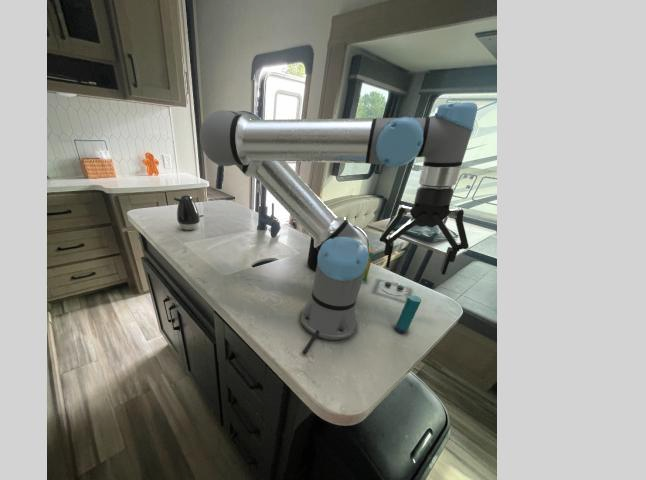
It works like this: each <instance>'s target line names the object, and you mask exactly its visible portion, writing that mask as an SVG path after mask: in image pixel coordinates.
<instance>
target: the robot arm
mask: <svg viewBox="0 0 646 480" xmlns="http://www.w3.org/2000/svg"><path fill="white" fill-rule="evenodd" d="M477 113H478V105H477V104H476V103H475V102H454V103H443V104H439V105H438V106H437V107H436V108H435V111H434V113H433V115H430V116H425V117H412V116H399V117H376V118H373V117H372V118H371V117H362V118H361V117H359V118H357V117H356V118H299V119H296V118H294V119H289V118H287V119H262V118H261V117H260V116H258V115H257V114H255V113H253V112H251V111H248V110H238V111H235V110H223V109H221V110H215V111H213V112H211V113H210V114H208V115H207V116H206V117H205V118H204V120H203V122H202V123H201V127H200V130H199V139H200V140H199V143H200V145H201V149H202V151H203V152H204V155H205V156H206V157H207V158H208V159H209V161H211V162H213V163H214V164H216V165H218V166H221V167H231V166H236V167H237V168H238V169H239V170H240V171H241V172H242V173H243V174H244V175H245V177H246V178H255V179H256V180H257V181H258V182H259V183H260V184H261V185H262V186H263V187H264V188H265V189H266V190H267V192H269V193H270V194H271V195H272V197H273V198H275V200H276V201H277V202H278V203H279V204H280V205H281V206H282V207H283V208H284V209H285V210H286V211H287V212H288V213H289V215H291V216H292V218H293V219H294V220H295V221H296V222H297V223H298V224H299V225H300V226H301V227H302V228H303V229H304V230H305V231H306V233H308V234H309V235H310V237H311V236H312V237H313V239H314V247H315V248H316V249H317V250H318V252H319V253H318V258H317V259H318V261H317V268H316V270H315V273H314V279H313V283H312V290H311V295H310V297H309V299H308V301H307V302H306V304H305V305H304V307H303V309H302V310H301V315H300V317H301V318H300V322H301V325H302V326H303V328H304V329H305V330H306V331H307V332H308V333H310V334H311V335H312V336H311V338H310V339H309V340H308V343H307V344H306V346H305V347H304V348H303V350H302V354H307V353H308V350H309V349H310V347H311V346H312V345H313V343H314V342H315V340H316V338H319V339H322V340H327V341H342V340H345V339H346V340H347V339H348V338H350V337H351V336H352V335H353V334H354V332H355V330H356V326H357V315H356V303H357V299H358V296H359V292H360V290H361V286H362V283H363V280H362V279H363V276H364V273H365V270H366V268H367V266H368V260H369V259H368V258H369V244H370V242H369V238H368V236H367V234H366V233H365V231H364V230H363V229H361V227H359V226H357V225H353V224H351V223H350V221H348V219H347V218H346V217H345V216H336V215H335V214H334V212H333V211H332V210H331V209H330V208H329V207H328V206H327V204H325V202H323V200H322V199H321V198H320V197H319V196H318V195H317V194H316V192H314V191H313V190H312V189H311V187H310V186H309V185H308V184H307V183H306V182H305V181H304V180H303V179H302V178H301V177H300V175H299V174H298V173H297V172H296V171H295V169H293V168H292V167H291V166H290V165H289V164H288V162H306V163H339V164H341V163H342V164H369V165H384V166H386V167H388V168H398V167H403V166H405V165H407V164H409V163H410V162H412V161H413V160H414V159H415V158H423V163H422V167H421V172H420V175H419V181H418V184H419V186H418V187H417V188H416V193H415V197H414V201H413V205H412V206H411V207H409V206H405V204H401V205H399V208H398V209H397V213H396V214H395V216H394V217H393V218H392V220H391V221H390V222H389V224H388V225H387V226H386V228H385V229H384V231H383V232H382V233H381V234H380V236H379V242H380V243H381V242H382V243H384V244H385V246H384V251H383V252H384V253H383V254H384V256H387V260H386V265H385V268H387V269H388V268H390V266H391V265H390V264H391V259H392V255H393V250H394V244H395V243H394V242H395V241H396V240H398V239H399V238H400V237H401V236H403V235H404V234H405V233H407V231H409V230H410V229H412V228H414V227H415V226H416V225H417V226H418V227H423V228H424V227H428V228H434V227H438V229H439V230H440V231H441V233H442V234H443V236H444V238H445V239H446V241H447V242H448V244H449V245H450V246H447V249H446V252H445V255H444V258H443V261H442V265H441V267H440V273H441V275H443V276H445V275H446V272H447V269H448V267H449V264H450V263H454V262H455V260H456V257H457V254H458V252H460V250H467V249H469V248H470V246H469V241H468V238H467V232H466V229H465V224H464V221H463V220H464V219H463V218H464V215H465V214H464V213H465V211H464V209H463V208H462V207H460V206H459V207H457V208H450V206H451V202H452V199H453V196H454V192H455V188H454V186H455V185H457V182H458V179H459V175H460V172H461V168H462V164H463V161H464V157H465V155H466V152H467V148H468V146H469V142H470V139H471V136H472V132H474V126H475V122H476V117H477ZM409 213H410V216H411V218H409V220H407V222H405V223H404V224H402V225H401V226H400V227H399V228H398V229H397V230H395V231H394V232H393V233H392V234H391V232H392V231H393V230H394V229H395V227H396V226H397V225H398V223H399V222H400V221H401V219H402V217H405V216H407V214H409ZM449 216H451V218H452V219H453V220H454V222H455V225H456V229H457V233H458V237H459V241H460V242H457V241H456V239H455V238H454V236H453V234H452V233H451V231H450V230H449V228H448V227H447V225H446V224H445V222H444V220H446V218H447V217H449Z"/></svg>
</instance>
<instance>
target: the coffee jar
mask: <svg viewBox="0 0 646 480" xmlns="http://www.w3.org/2000/svg"><path fill="white" fill-rule="evenodd" d="M308 248H309V249H308V255H307V265H308V267H309V268H310V269H312V270H313V271H316V268H317V261H318V259H317V258H318V253H319V252H318V250H317V249H316V248H315V247H314V239H313V237H312V236H311V235H310V242H309V247H308Z"/></svg>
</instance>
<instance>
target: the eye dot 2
mask: <svg viewBox="0 0 646 480" xmlns="http://www.w3.org/2000/svg"><path fill="white" fill-rule="evenodd" d="M404 287H405V286H404ZM404 287H403V285H402V286H401V285H397V286H396V289H397V290H399V291H404V290H405V288H404Z"/></svg>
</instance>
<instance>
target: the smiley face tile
mask: <svg viewBox="0 0 646 480" xmlns="http://www.w3.org/2000/svg"><path fill="white" fill-rule="evenodd" d="M386 282H389V283H393V284H396V285H398V286H402V287H404V290H406V293H404V294H402V295H401V294H392V293H389V292H387V291H386V290H385V289H383V288H382V286H381V285H382V284H385V283H386ZM378 287H379V288H380V290H381V291H382V292H384V293H386V294H387V295H391V296H394V297H405V296H407V295H408V293H409V290H408V288H407V287H406V286H404V285H402V284H400V283H399V282H396V281H391V280H389V281H388V280H384V281H381V282H380V283H379V284H378Z"/></svg>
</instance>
